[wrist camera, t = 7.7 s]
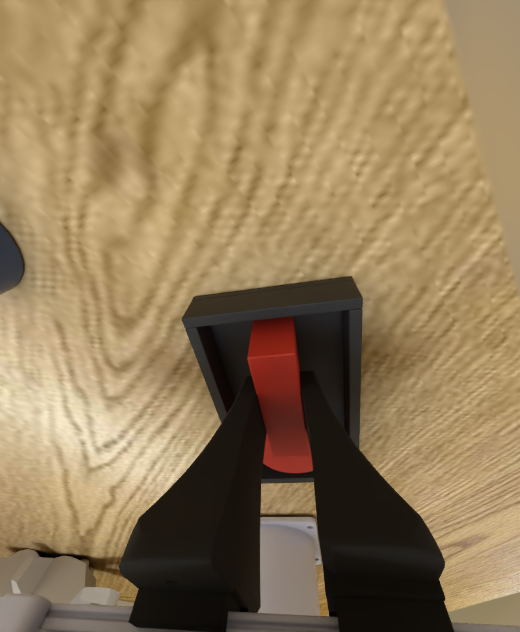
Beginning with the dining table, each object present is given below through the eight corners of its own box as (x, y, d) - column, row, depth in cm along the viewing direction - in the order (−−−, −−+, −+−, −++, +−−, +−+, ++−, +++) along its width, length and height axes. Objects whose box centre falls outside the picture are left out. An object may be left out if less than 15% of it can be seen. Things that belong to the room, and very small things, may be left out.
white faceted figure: (-40, 585, 27) (98, 631, 26) (9, 526, 32) (129, 563, 30) (-4, 609, 32) (113, 649, 31) (34, 556, 37) (138, 589, 35)
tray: (351, 451, 18) (358, 481, 16) (247, 455, 19) (244, 484, 17) (351, 275, 11) (363, 297, 10) (193, 296, 12) (180, 318, 11)
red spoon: (227, 320, 13) (215, 360, 10) (320, 310, 12) (329, 350, 10) (263, 449, 18) (261, 496, 15) (329, 446, 17) (337, 495, 15)
